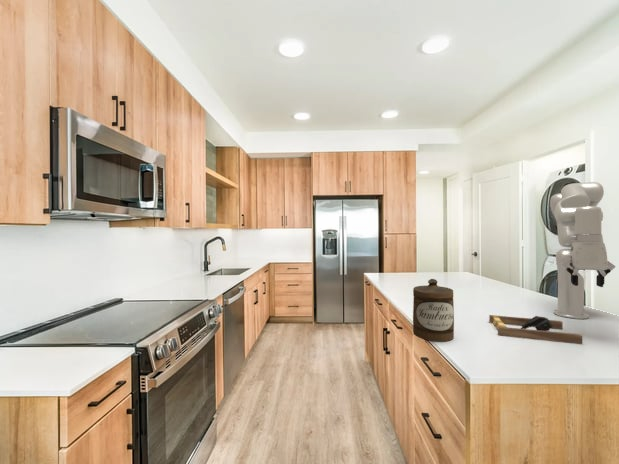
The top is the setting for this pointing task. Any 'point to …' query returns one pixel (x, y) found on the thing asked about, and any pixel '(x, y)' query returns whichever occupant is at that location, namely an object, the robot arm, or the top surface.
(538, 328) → the power plug
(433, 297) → the wooden container
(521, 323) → the brown wooden u-shaped frame
